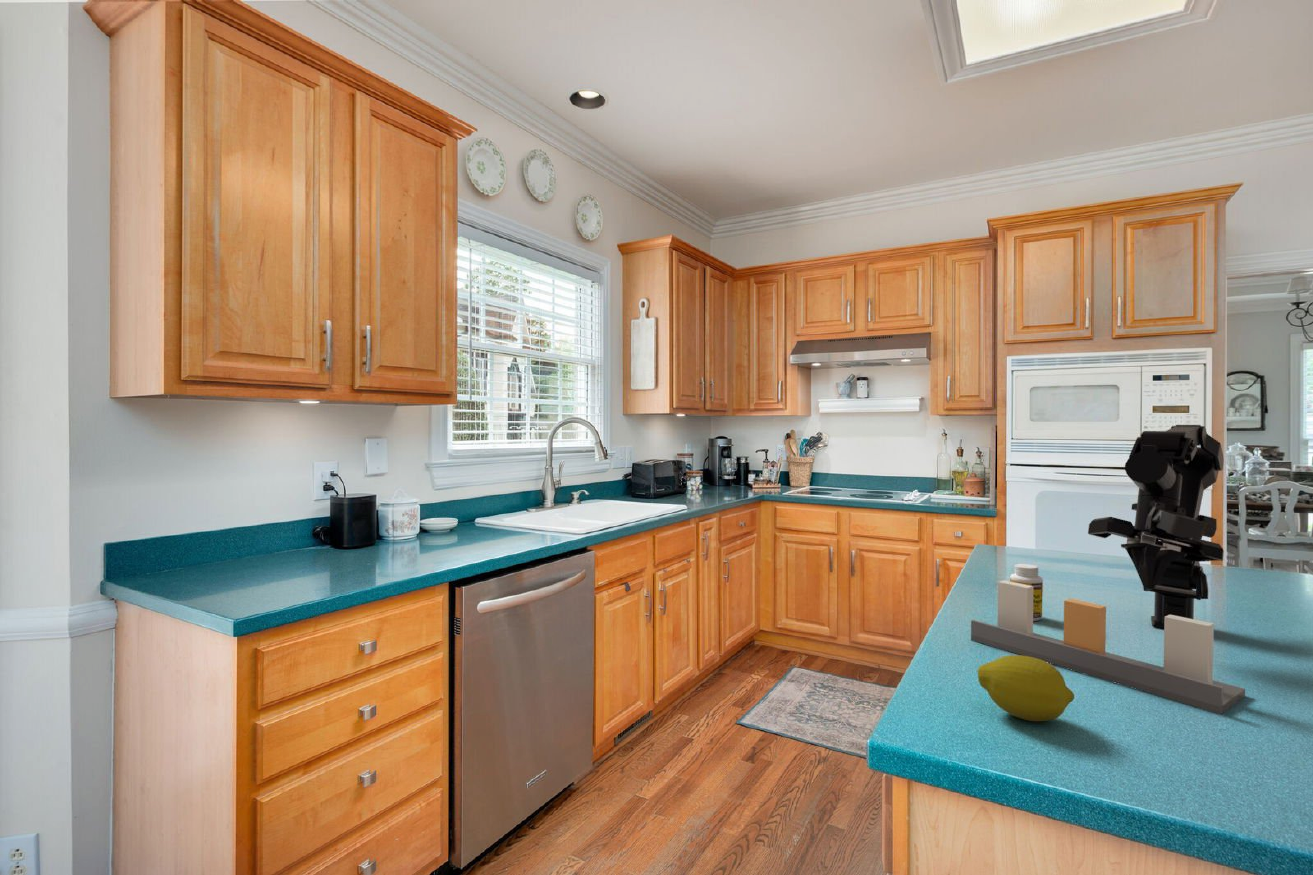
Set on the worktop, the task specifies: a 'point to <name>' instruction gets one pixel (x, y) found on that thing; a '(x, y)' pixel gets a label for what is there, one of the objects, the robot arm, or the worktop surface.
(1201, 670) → the key
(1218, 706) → the long grey base rail
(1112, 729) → the worktop surface
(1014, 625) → the key
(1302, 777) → the worktop surface
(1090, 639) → the key middle
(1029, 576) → the supplement bottle
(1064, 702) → the lemon
